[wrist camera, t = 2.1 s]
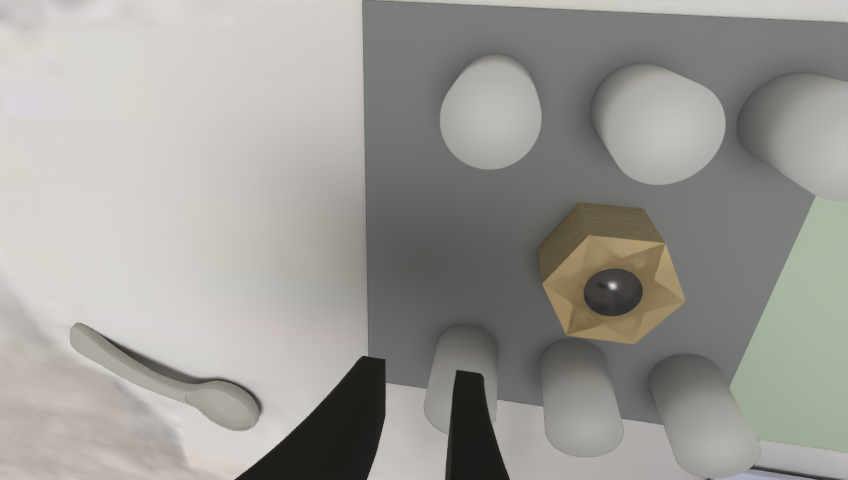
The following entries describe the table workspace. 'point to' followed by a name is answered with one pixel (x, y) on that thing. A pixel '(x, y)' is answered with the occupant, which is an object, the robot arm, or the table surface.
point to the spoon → (171, 383)
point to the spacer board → (618, 186)
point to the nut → (608, 273)
